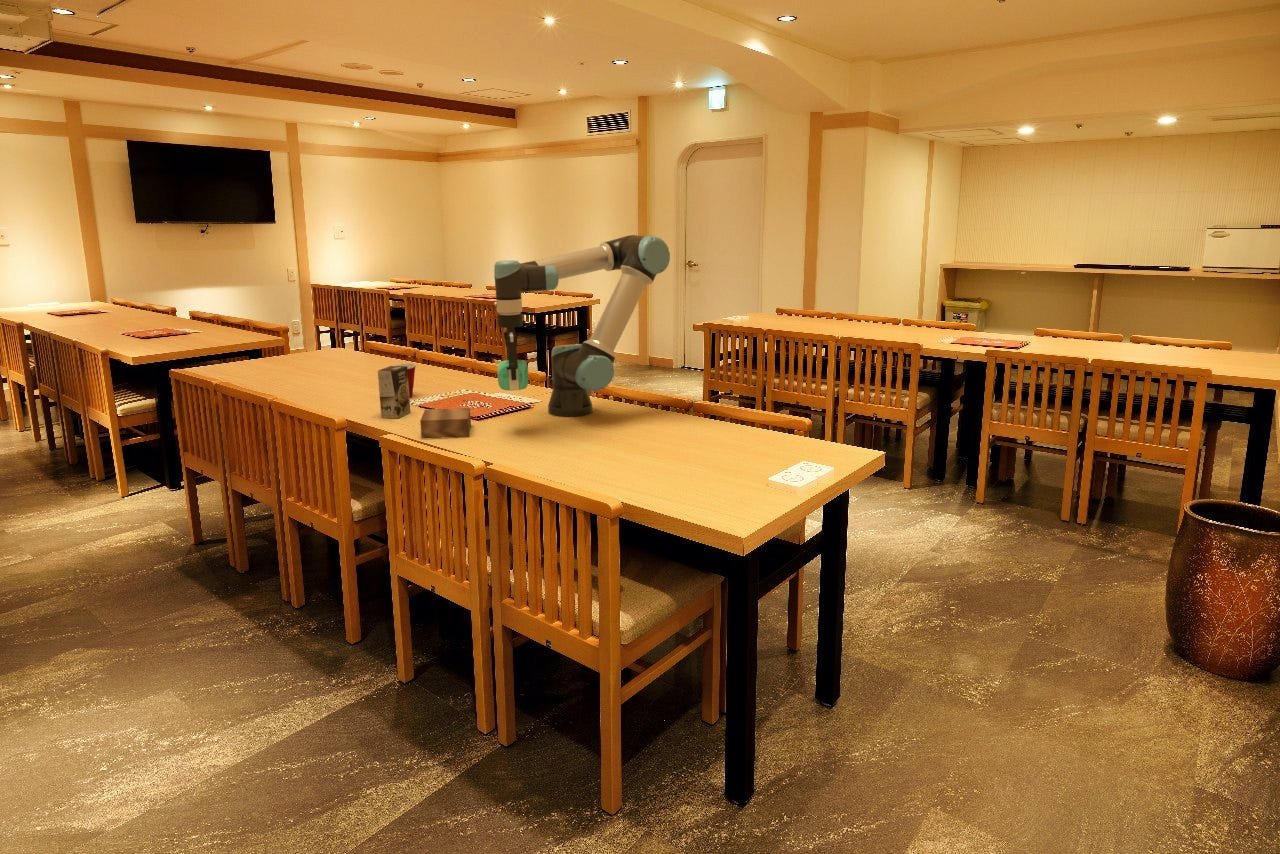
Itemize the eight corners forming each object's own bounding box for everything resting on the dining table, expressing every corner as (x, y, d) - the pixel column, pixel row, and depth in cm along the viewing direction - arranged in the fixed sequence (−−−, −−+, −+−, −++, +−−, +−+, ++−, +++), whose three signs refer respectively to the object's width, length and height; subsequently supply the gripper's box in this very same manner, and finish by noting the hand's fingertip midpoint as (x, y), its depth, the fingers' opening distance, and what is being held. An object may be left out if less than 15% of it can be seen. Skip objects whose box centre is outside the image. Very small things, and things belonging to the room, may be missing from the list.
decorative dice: (498, 390, 240) (496, 364, 238) (503, 385, 247) (502, 359, 245) (524, 390, 239) (523, 364, 237) (529, 384, 247) (527, 359, 245)
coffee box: (398, 419, 261) (394, 370, 257) (380, 418, 262) (376, 370, 258) (411, 412, 270) (408, 365, 266) (394, 411, 271) (390, 365, 267)
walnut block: (471, 426, 254) (470, 407, 253) (469, 437, 241) (468, 418, 239) (426, 427, 252) (424, 409, 250) (421, 439, 239) (420, 420, 237)
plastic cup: (387, 395, 295) (385, 363, 292) (418, 393, 298) (415, 361, 295) (388, 401, 285) (385, 368, 282) (419, 399, 288) (416, 367, 285)
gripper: (495, 309, 247) (500, 380, 253) (497, 318, 226) (502, 395, 232) (520, 308, 248) (523, 378, 254) (524, 317, 228) (528, 393, 234)
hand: (513, 386), depth 243 cm, fingers closed on decorative dice, 9 cm apart
